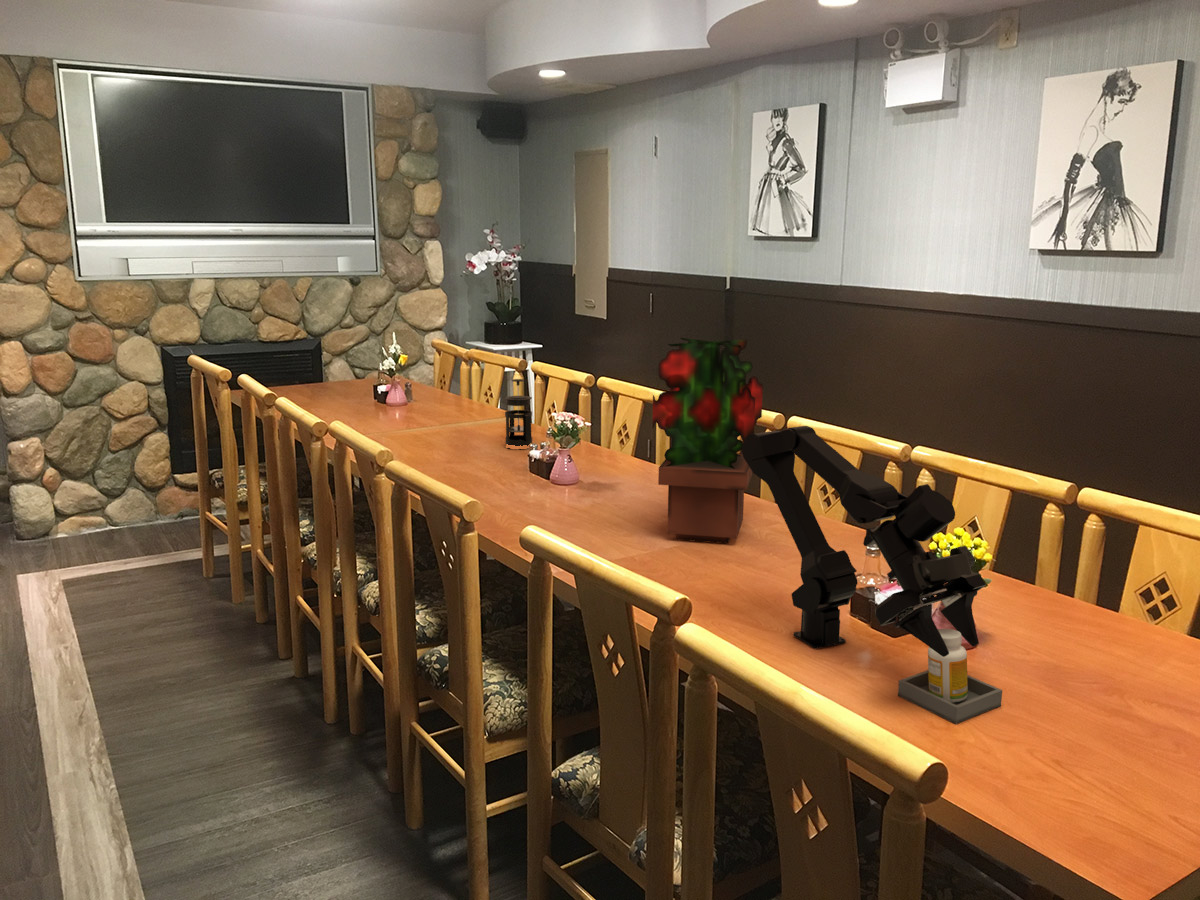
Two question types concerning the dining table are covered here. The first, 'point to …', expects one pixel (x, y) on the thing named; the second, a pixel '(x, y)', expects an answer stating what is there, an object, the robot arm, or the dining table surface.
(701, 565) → the dining table surface
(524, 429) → the french press
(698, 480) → the potted plant
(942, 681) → the supplement bottle
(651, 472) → the dining table surface
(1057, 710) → the dining table surface
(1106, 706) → the dining table surface
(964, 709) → the charcoal tray
